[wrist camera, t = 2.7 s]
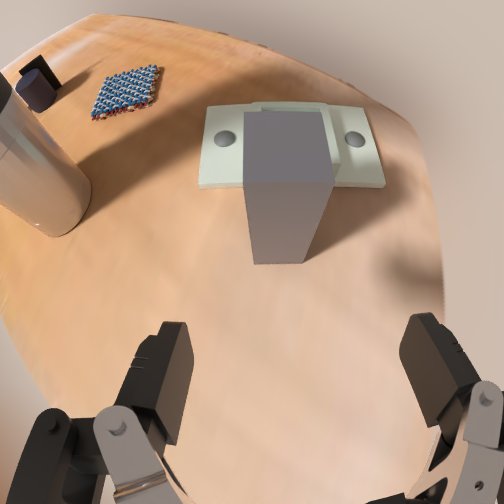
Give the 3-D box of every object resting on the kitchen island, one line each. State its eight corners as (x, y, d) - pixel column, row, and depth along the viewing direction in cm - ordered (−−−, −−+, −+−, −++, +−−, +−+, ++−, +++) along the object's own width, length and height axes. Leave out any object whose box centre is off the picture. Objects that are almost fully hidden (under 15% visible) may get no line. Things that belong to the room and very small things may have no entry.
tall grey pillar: (254, 264, 27) (242, 183, 13) (253, 214, 28) (243, 110, 15) (302, 263, 27) (335, 182, 13) (299, 213, 28) (320, 110, 15)
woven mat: (91, 126, 35) (85, 118, 33) (107, 85, 39) (103, 77, 37) (152, 110, 35) (148, 100, 33) (162, 70, 38) (159, 61, 37)
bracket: (199, 189, 30) (192, 170, 26) (208, 111, 33) (204, 92, 30) (383, 188, 29) (394, 171, 25) (361, 112, 33) (367, 94, 29)
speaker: (41, 94, 40) (20, 65, 30) (62, 84, 41) (41, 52, 30) (32, 120, 38) (7, 90, 28) (54, 109, 39) (29, 76, 29)
